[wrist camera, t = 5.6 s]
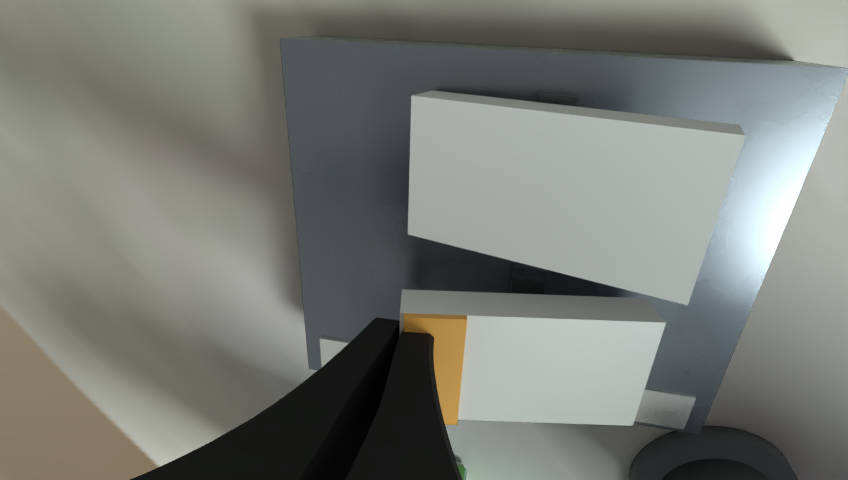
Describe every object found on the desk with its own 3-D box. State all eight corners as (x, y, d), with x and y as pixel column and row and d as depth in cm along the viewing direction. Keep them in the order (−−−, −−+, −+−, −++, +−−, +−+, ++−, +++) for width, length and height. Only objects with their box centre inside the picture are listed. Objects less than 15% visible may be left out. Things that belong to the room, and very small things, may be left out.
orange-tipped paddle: (647, 298, 11) (669, 326, 10) (618, 396, 13) (635, 430, 12) (402, 289, 11) (399, 317, 10) (400, 389, 13) (397, 422, 12)
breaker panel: (797, 60, 11) (870, 71, 9) (678, 386, 15) (706, 451, 13) (313, 36, 13) (267, 39, 10) (331, 332, 17) (301, 381, 15)
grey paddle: (739, 124, 8) (745, 135, 7) (687, 281, 10) (687, 305, 9) (431, 90, 10) (411, 95, 10) (426, 220, 12) (407, 234, 11)
